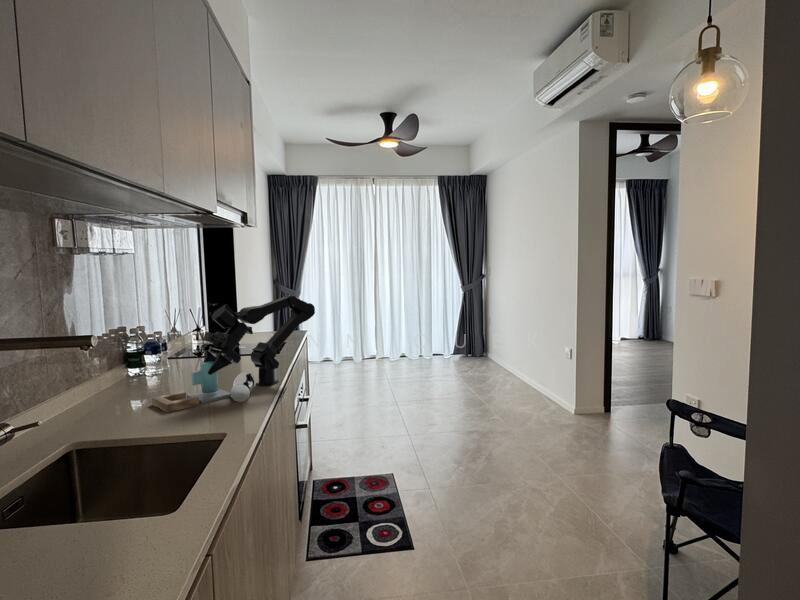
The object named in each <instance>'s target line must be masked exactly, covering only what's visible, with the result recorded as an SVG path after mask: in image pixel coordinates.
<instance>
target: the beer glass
mask: <svg viewBox="0 0 800 600" xmlns="http://www.w3.org/2000/svg"><path fill="white" fill-rule="evenodd" d="M254 387H255V377H254V375H253V373H250V372H248V371H243V372H241V373H239V374H238V375H237V376H236V378H234V381H233V384H232V388H231V390H230V393H231V397H230V398H232V400H233V401H235V402H238V403H243V402H245V401H246V400H248V399H249V398H250V393H251V392H252V391H253V389H254Z"/></svg>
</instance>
